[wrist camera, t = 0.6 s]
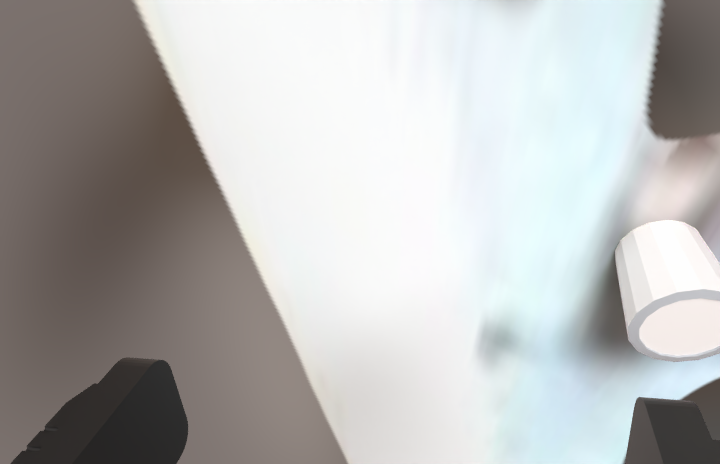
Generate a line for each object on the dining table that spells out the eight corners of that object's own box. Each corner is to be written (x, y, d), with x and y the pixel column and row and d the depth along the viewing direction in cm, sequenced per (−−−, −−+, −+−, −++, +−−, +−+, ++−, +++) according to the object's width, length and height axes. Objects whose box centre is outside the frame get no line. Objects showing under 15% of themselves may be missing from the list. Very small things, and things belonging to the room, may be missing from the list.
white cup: (598, 284, 42) (618, 362, 37) (613, 213, 38) (639, 290, 32) (698, 284, 41) (733, 365, 36) (726, 211, 36) (771, 291, 31)
